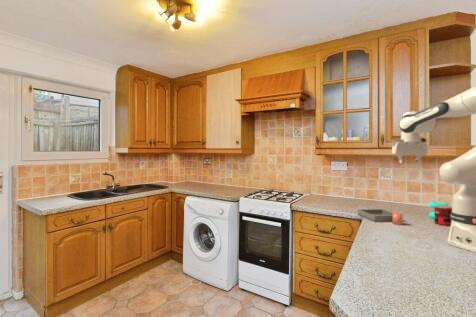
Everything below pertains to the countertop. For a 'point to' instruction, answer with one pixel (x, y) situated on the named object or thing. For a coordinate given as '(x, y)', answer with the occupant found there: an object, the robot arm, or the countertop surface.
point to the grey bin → (376, 215)
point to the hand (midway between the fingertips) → (409, 162)
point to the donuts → (434, 207)
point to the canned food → (443, 215)
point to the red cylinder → (397, 218)
